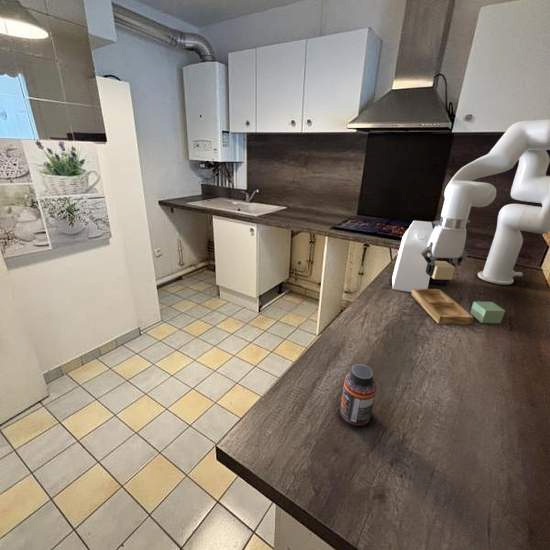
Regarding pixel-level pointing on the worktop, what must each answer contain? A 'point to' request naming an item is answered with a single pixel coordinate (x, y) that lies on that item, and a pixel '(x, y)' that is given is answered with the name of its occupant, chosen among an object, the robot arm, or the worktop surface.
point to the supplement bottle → (358, 395)
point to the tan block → (443, 270)
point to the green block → (487, 312)
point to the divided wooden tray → (441, 307)
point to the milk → (412, 258)
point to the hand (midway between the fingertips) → (438, 274)
